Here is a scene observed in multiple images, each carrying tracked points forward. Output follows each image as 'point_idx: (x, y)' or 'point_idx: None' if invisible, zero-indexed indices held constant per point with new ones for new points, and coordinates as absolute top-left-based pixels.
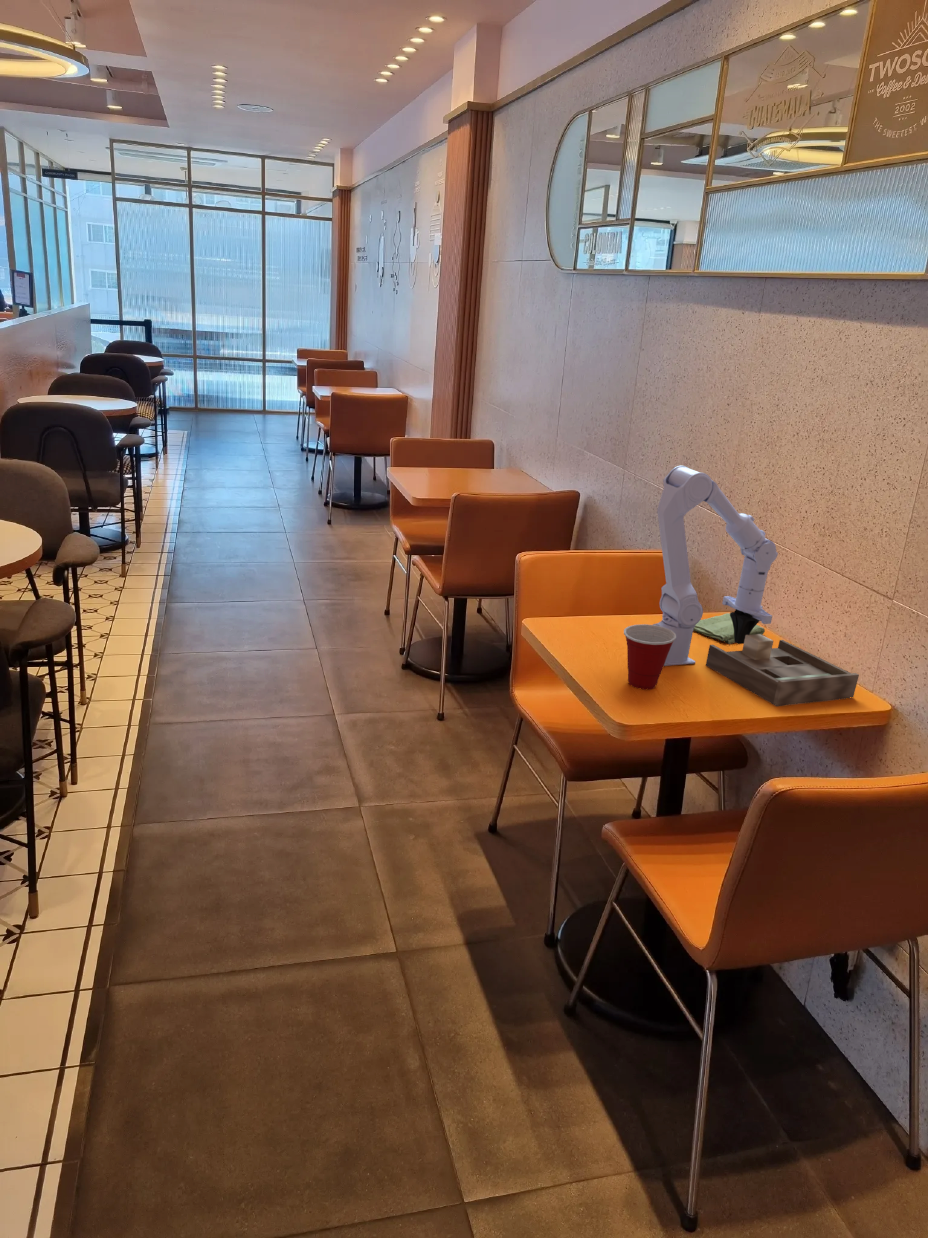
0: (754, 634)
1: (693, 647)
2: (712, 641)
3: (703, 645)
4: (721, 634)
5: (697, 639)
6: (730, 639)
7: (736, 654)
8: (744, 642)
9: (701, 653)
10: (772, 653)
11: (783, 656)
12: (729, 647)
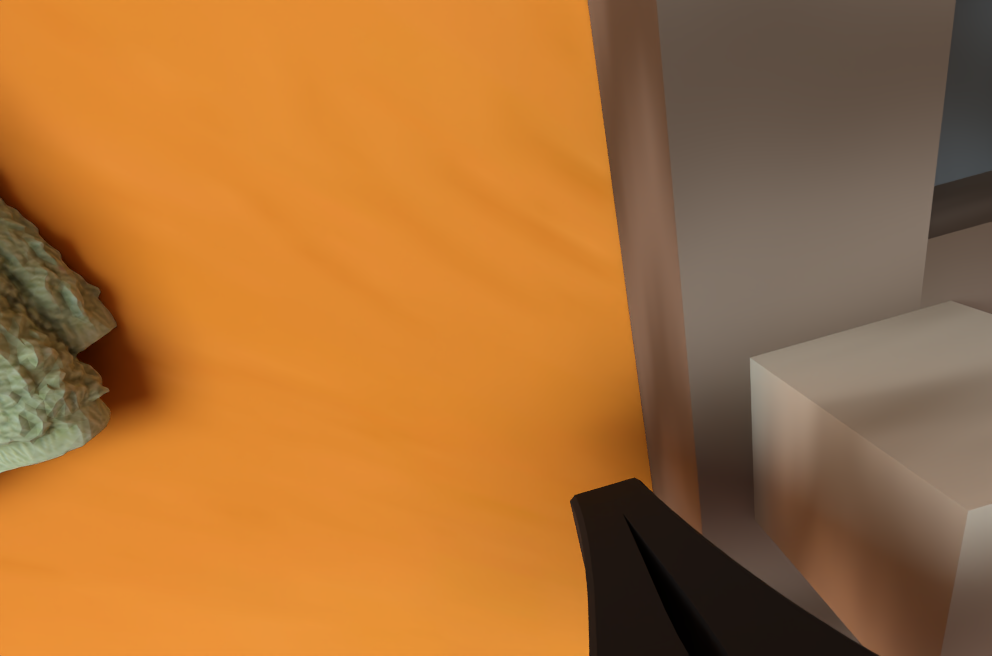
0: (950, 607)
1: (327, 649)
2: (89, 468)
3: (252, 573)
4: (6, 446)
5: (82, 581)
6: (49, 319)
7: (781, 575)
8: (848, 618)
9: (455, 627)
10: (835, 167)
11: (950, 46)
12: (242, 360)
